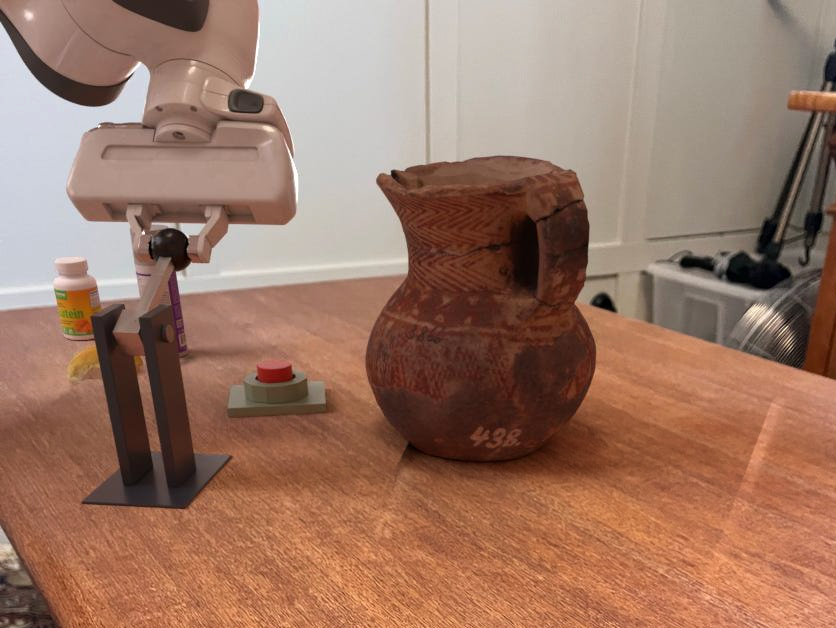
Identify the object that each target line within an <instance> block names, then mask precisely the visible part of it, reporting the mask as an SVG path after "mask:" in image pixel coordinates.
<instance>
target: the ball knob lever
mask: <svg viewBox="0 0 836 628" xmlns="http://www.w3.org/2000/svg"><path fill="white" fill-rule="evenodd" d="M188 239H189V235H187V234H186V233H185V232H184V231H182V230H181V229H178V228H175V227H168V228H165V229H162V230H160V231H159V232H157V233H156V234H155V236H154V237H153V239H152V242H151V253H152V256H153V259H154V260H155V262H156V266H155V268H154V270H153V272H152V274H151V276H150V279H149V281H148V283H147V285H146V287H145V290H144V292H143V294H142V296H141V298H140V297H139V301H138V303H137V305H136V307H135V309H126V310H122V312H121V314H120V316H119V319H118V321H117V323H116V325H115V327H114V329H113V331H112V332H113V335H114V337H115V339H116V342H117V344H118V346H119V349H120V351H121V353H122V355H128V356H140V357H145V353H144V347H143V341H142V336H141V330H140V324H139V317H140V316H142V315H144V314H145V313H147V312H149V311H150V310H152V309H154V308H155V307H157V306H158V304H159V301H160V299H161V297H162V294H163V292H164V290H165V288H166V285H167V283H168V281H169V278H170V276H171V274H172V272H176V273H177V272H181V271H184V270H186V269H187V268H188V267H189V266H190V265H191V263H192V262H191V259H190V258H189V257H188V255H187V246H188V245H189V243H188Z"/></svg>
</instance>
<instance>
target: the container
mask: <svg viewBox="0 0 836 628" xmlns="http://www.w3.org/2000/svg"><path fill="white" fill-rule="evenodd" d="M165 228H169V226H168V225H166V224H165V225H164V224H151V229H150V230H149V231H145V230H144V233H145V234H151V235H152V237H154V236H155V234H156V233H157V232H159V231H160V230H162V229H165ZM129 234H130V240H131V247H132V250H133V243H134V238H135V235H134V233H133V231H132V229H131V227H129ZM132 255H133V263H134V269H135V276H136V281H137V286H138V293H139V299H140V298H141V296H142V294H143V292H144V290H145V287H146V285H147V283H148V281H149V279H150V276H151V274H152V272H153V270H154V268H155V266H156V262H139V261H138V260H137V259H136V257H135V256H134V254H133V253H132ZM159 305H171V308H172V314H173V321H174V327H175V333H176V340H177V346H178V353H179V358H183V357H185V356H187V355H188V353H189V351H188V350H189V349H188V344H187V343H188V342H187V337H186V328H185V324H184V323H185V322H184V315H183V310H182V302H181V296H180V290H179V282H178V275H177V272H172V274H171V276H170V278H169V281H168V283H167V285H166V288H165V290H164V292H163V294H162V297H161V299H160V301H159V304H158V306H159Z"/></svg>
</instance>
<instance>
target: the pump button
mask: <svg viewBox="0 0 836 628" xmlns="http://www.w3.org/2000/svg"><path fill="white" fill-rule="evenodd" d="M292 369H293V363H292V362H291V361H289V360H286V359H268V360H263V361H260V362H258V363H257V364H256V371H257V374H258V381H259V382H262V383H282V382H287V381H291V380H292V379H293V373H292Z"/></svg>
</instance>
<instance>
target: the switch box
mask: <svg viewBox="0 0 836 628" xmlns="http://www.w3.org/2000/svg"><path fill="white" fill-rule="evenodd" d="M292 373H293V379H292V380H291V381H287V382H282V383H262V382H259V381H258V374H257V370H256V371H255V370H254V371H252V372H250V373H248V374H246V375H244V376H243V384H230V389H229V393H228V394H229V395H228V400H227V405H226V406H227V407H226V412H227V418H240V417H243V418H244V417H262V416H279V415H280V416H281V415H282V416H283V415H297V414H298V415H300V414H301V415H303V414H318V413H319V414H320V413H321V414H322V413H327V412H328V410H327V399H326V389H325V387H326V386H325V381H324V380H309V381H308V374H307V372H304V371H302V370H300V369H294V368H292Z"/></svg>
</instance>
